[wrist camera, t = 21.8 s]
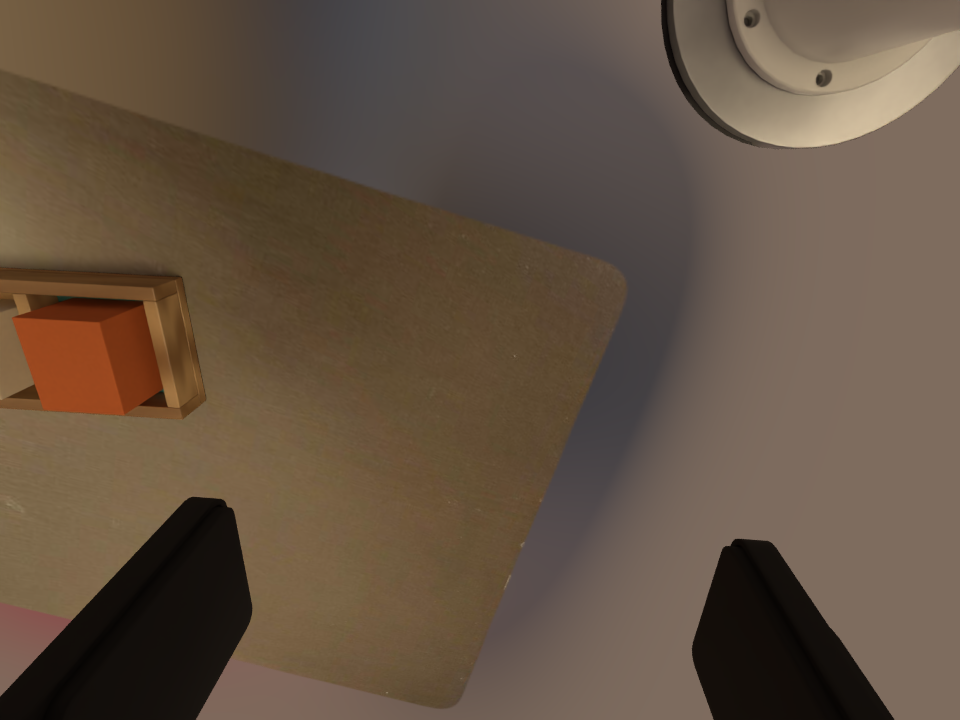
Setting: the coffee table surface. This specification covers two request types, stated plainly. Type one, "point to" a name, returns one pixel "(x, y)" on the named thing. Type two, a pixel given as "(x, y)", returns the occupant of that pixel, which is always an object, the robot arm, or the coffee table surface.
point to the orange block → (90, 355)
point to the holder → (164, 324)
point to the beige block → (11, 354)
